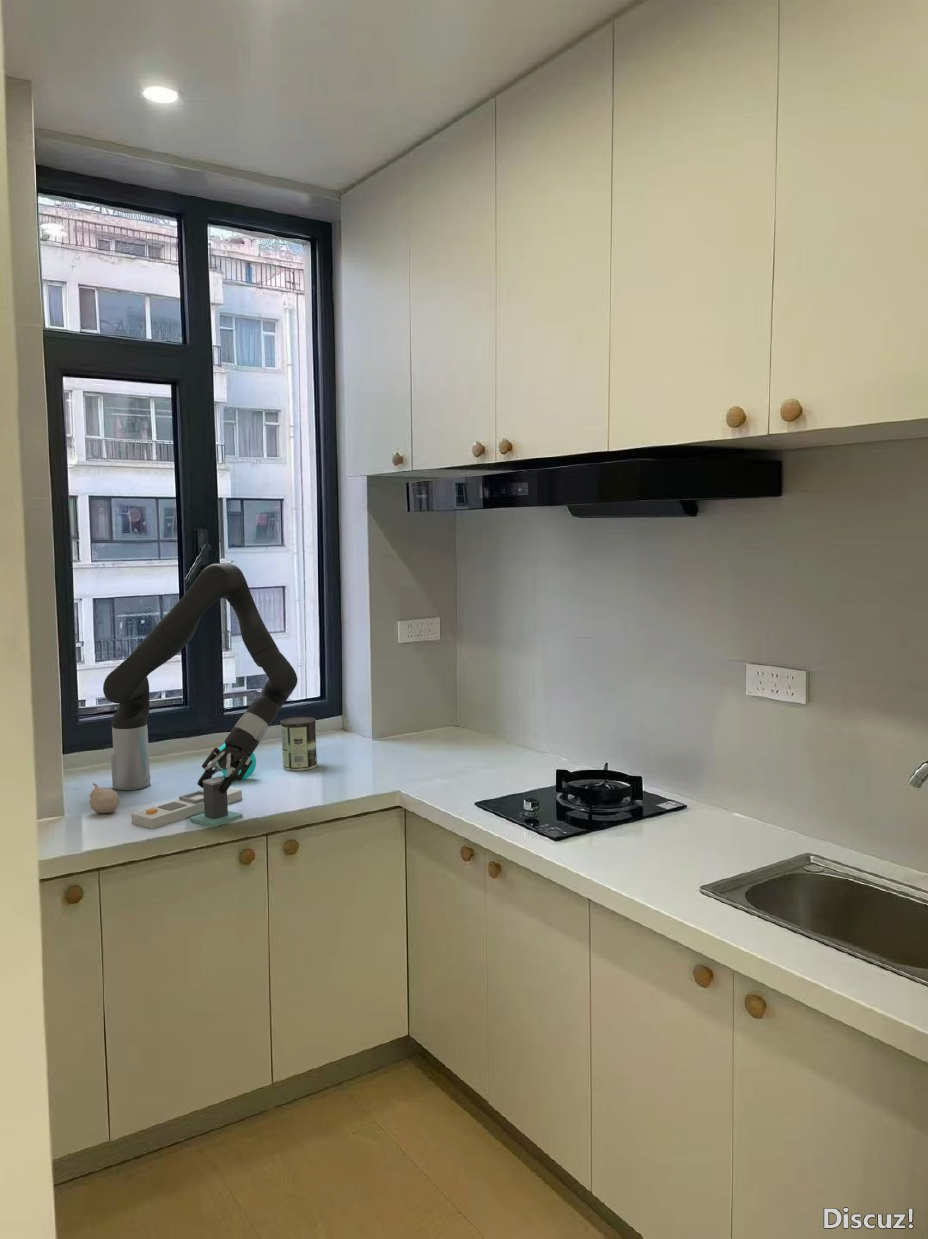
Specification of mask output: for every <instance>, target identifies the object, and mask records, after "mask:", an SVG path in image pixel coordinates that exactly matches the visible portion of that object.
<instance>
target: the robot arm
mask: <svg viewBox="0 0 928 1239" xmlns="http://www.w3.org/2000/svg"><path fill="white" fill-rule="evenodd" d="M221 599H225V600H226V601H227V603H229V605H230V606H231V607H232V609H233V611H234V612H235V615H236V616H237V620H238V624H239V625H238V626H239V629H240V630H239V631H240V635H241V639H242V641H243V644H244V647H245V648H246V650H247V651H248V653H249V654H250V657H251V658H252V660H253V662H254V663H255V664H256V666H257V667H259V668H261V669H262V671H263V672H264V673H265V675H266V677H267V678H268V679H267V681H266V683H265V685H264V686H263V687H262V689H261V691H260V693H259V694H258V696H256V697H255V698H254V699H253V701H252V702H251V703H250V705H249V706H248V708H247V709H246V711H245V712H244V714H242V716H240V718H239V720H237V722H236V724H235V725H234V726H233V728H232V729H231V731H230V732H229V734H228V735H227V736H226V738H225V739H224V744H225V745H226V746H225V748H224V749H223V750H222V751H220V750H219V749H220V748H218V747H214V748H213V749H212V751H211V753H210V754H209V755H208V756H207V758H206V759H205V760H204V762H202V765H201V768H203V770H204V772H203V773H202V774H201V776H200V777H199V779H198V781H197V783H196V784H197V785H198V786H199V787H200V788H201V789H203V780H207V779H211V778H213V776H214V775H216V773H218V772H222V770H223V769H224V770H227V774H226V776H227V777H226V776H224V777H223V778H222V779H223V780H222V782H221V783H220V785H219V786H218V788H217V791H218V792H219V793H221V794H225V792H226V791H227V790H228V788H231V785H232V784H233V783H234V782H241V781H243V780H242V778H243V777H244V775H245V773H246V772H247V770H248V769H249V767H250V765H251V764H252V762H253V761H252V760H251V759H250V758H249V757H250V756H251V755H252V753H254V752H255V750H256V749H257V748H258V746H259V744H260V743H261V742H262V741H263V738H264V737H265V736H266V734H267V731H268V729H269V727H270V726H271V724H272V723H273V722H274V720H275V719H276V717H277V716H278V713H279V711H280V710H281V708H282V706H283V705H285V702H286V701H287V700H288V699H289V697H290V696H291V695H292V693H293V692H294V690H295V689H296V687H297V685H298V676H297V673H296V670H295V669H294V667H293V666H292V665H291V663H290V661H288V659H287V658H286V657H285V655H284V654H283V653H281V651H280V649H279V648H278V645H277V644H276V642H275V640H274V639H273V637H272V635H271V633H270V632H269V630H268V628H267V626H266V624H265V623H264V620H263V619H262V616H261V615H260V612H259V609H258V606H257V605H256V603H255V601H254V598H253V596H252V594H251V590H250V587H249V585H248V582H247V580H246V577H245V575H244V573H243V572H242V569H240V568H239V567H238V566H237V565H235V564H234V563H212V564H209V565H207V566H206V567H205V568H203V570H202V571H201V572H200V573H199V575H198V576H196V578H195V580H194V581H193V583H191V585H190V587H189V589H188V590H187V591H186V593H184V595H183V596H182V597H181V598H180V599H179V601H177V602H176V604H175V605H173V607H172V608H171V609H170V610H169V612H167V613H166V615H164V616H163V618H161V619H160V620H159V622H158V623H157V624H156V625H155V626H154V627H153V628H152V630H151V631H150V632H149V633H148V634H147V636H146V637H145V638H144V639H143V640H142V641H141V642H140V643H139V644H138V646H137V647H136V649H134V651H133V652H132V653H131V654H130V655H129V656H128V657H127V658H126V659H125V660H124V661H123V662H121V663H120V664H119V665H118V666H116V668H114V669H113V670H112V671H111V672H110V673H109V674H108V675H107V676H106V677H105V679H104V681H103V685H102V686H103V687H102V690H103V696H104V697H105V699H106V700H108V701H109V702H110V703H112V704H113V703H114V704H119V706H118V709H117V710H116V712H115V713H114V714H113V715H112V717H111V730H112V731H111V734H112V748H113V749H112V750H113V753H111V755H110V764H111V768H110V769H111V780H112V781H111V782H112V790H119V791H135V790H141V789H145V788H148V787H149V786H150V785H151V770H150V769H151V768H150V750H149V734H148V732H149V730H148V717H149V714H150V683H149V678H148V676H149V675H150V674H151V673H153V672H154V671H155V670H156V669H158V668H160V667H161V666H163V665H164V664H165V663H167V662H168V661H170V660H171V659H173V658H174V657H175V656H177V655H178V654H179V653H180V652H181V650H183V648H185V647H186V645H188V643H189V642H190V641H191V640H192V638H193V637H194V635H195V633H196V631H197V629H198V625H199V622H200V620H201V618H202V616H203V615H204V614H205V613H206V611H207V610H209V608H210V607H212V606H213V605H214V604H215V603H216V602H217V601H219V600H221ZM210 762H211V763H210ZM217 762H218V764H217ZM209 763H210V764H209ZM240 770H241V773H240V775H239V771H240ZM236 780H238V781H236Z"/></svg>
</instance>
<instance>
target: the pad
mask: <svg viewBox="0 0 928 1239" xmlns="http://www.w3.org/2000/svg"><path fill="white" fill-rule="evenodd" d="M243 815H244V814H243V813H239V812H236V811H231V810H228V815H227V816H224V817H221V818H217V819H212V818H209V817H205V812H202V813H199V814H196V815H193V816H189V817H188V818H189V822H191V823H196V824H201V825H203V826H204V825H205V826H208V827H211V828H212V827H213V828H217V827H218V826H221V825H224V824H227V823H230V822H233V821H235V820H239V819H242V818H243V817H244V816H243Z"/></svg>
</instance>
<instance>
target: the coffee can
mask: <svg viewBox="0 0 928 1239" xmlns="http://www.w3.org/2000/svg"><path fill="white" fill-rule="evenodd" d="M316 721H317V720H316V718H314V717H310V716H294V717H293V716H292V717H288V718H284V719H282V720H280V730H281V731H280V732H281V752H282V769H283V770H285V771H291V772H299V771H300V772H301V771H308V770H313V769H315V768H316V767H318V757H317V739H316V738H317V735H316V734H317V733H316Z"/></svg>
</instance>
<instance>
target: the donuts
mask: <svg viewBox="0 0 928 1239" xmlns="http://www.w3.org/2000/svg"><path fill="white" fill-rule="evenodd" d="M225 746H226V745H225V743H223V744H222V745H221V746H220V747H219V748H218V749H219V750H220V751H222V750H223V749H224V748H225ZM249 758H250V759H251V760H252V761H253V762H252V764H251V765H250V767H249V769H248V770H247V772H246V773H245V775H244V777H243V778H242V780H241V781H244V780H246V779H248V778H249V777H250V776H252V774H253V773H254V771H255V769H256V765H257V757H256V755H255V753H254V752H253V753H252V755H251V756H250V757H249ZM217 764H218V762H217ZM221 772H222V774H223V776H224V777H227V776H226V774H227V770H224V769H223V770H222V771H221ZM240 773H241V770H240V771H239V775H240ZM235 782H239V781H238V780H236V781H235Z"/></svg>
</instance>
